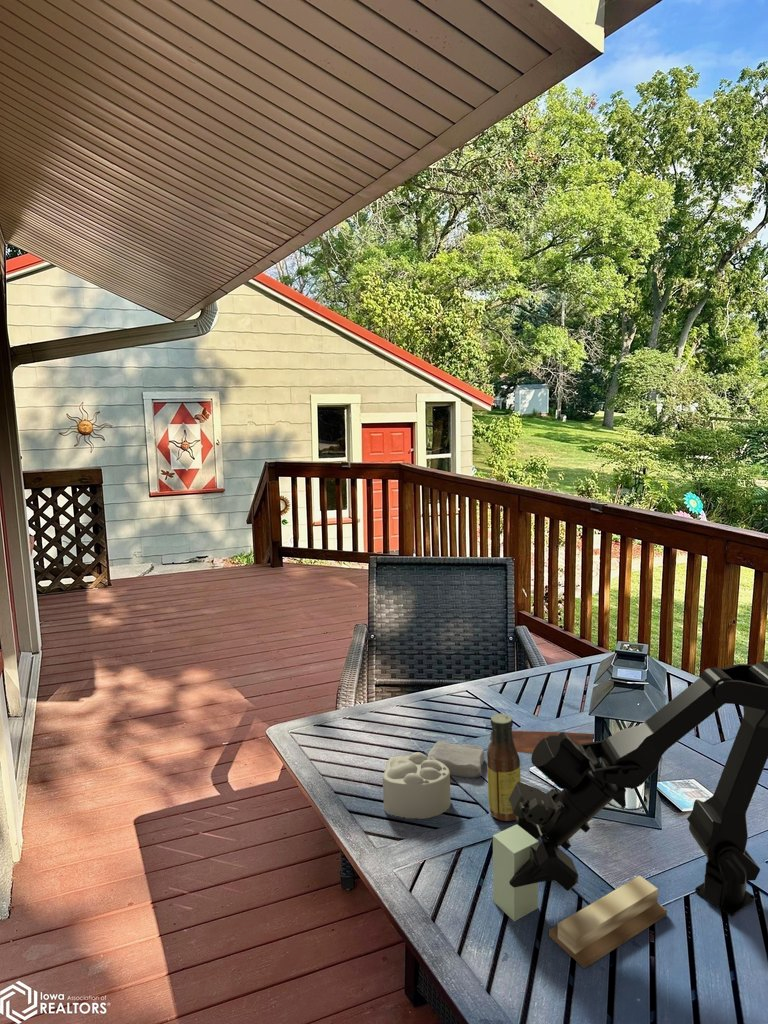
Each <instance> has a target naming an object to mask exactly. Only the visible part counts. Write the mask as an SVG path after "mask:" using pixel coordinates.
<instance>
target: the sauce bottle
mask: <svg viewBox="0 0 768 1024" xmlns="http://www.w3.org/2000/svg"><path fill="white" fill-rule="evenodd" d="M490 725H491V730H492V731H491V732H492V741H491V740H490V743H489V744H488V747H487V751H486V756H487V757H486V758H487V760H486V761H487V764H486V766H487V771H486V772H487V789H488V790H487V791H488V806H489V808H490V809H489V811H490V814H491V816H492V817H494V818H495V819H497V820H499V821H503V822H513V821H516V819H517V816H516V815H515V814H514V813H513V811H512V806H511V803H510V802H509V797H510V795H511V793H512V791H513V789H514V787H515V785H516V783H517V782H522V779H521V761H520V759H521V758H520V756H519V754H518V753H519V752H517V750H516V747H515V744H514V741H513V737H512V731H513V728H512V727H513V725H514V724H513V718H512V716H510V715H509V714H507V713H496V714H493V715H492V716H491V717H490Z"/></svg>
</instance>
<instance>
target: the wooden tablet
mask: <svg viewBox="0 0 768 1024" xmlns="http://www.w3.org/2000/svg"><path fill="white" fill-rule="evenodd" d="M561 732H562V731H543V730H542V731H541V730H540V731H539V730H537V731H536V730H535V731H534V730H530V731H529V730H512V737H513V741H514V744H515V747H516V750H517V753H522V754H532V753H533V751H534V749H535V747H536V746H537V744H538V743H539V742H540V741H541V740H542V739H546V738H547V737H549V736H553V735H555V736H558V735H559V734H560V733H561ZM564 732H565V733H566V734H567V735H568V736H569V737H570V739H571V740H572V741H573V742H574V743H575V744H576V745H577V746H579V745H580V744H584V743H590V742H593V739H594V734H595V733H584V732H570V731H569V732H566V731H564ZM489 739H490V742H491V741H492V731H491V732H490V737H489Z"/></svg>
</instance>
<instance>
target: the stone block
mask: <svg viewBox="0 0 768 1024" xmlns="http://www.w3.org/2000/svg"><path fill="white" fill-rule="evenodd" d="M426 757H429V758H432V759H435V760H437V761H440V762H442V763H443V764H444V765H445V766H447V768H448V769H449V771H450V776H456V777H463V778H468V779H472V778H473V779H474V778H480V777H481V776H482V772H483V771H482V766H483V765H484V762H485V752H484V749H483V748H482V747H481V746H479V745H477V744H476V745H474V744H473V745H472V744H469V743H468V744H467V743H463V744H457V743H450V742H448V741H439V740H438V741H436V742H435V743H434V744H433V747H432V748H431V749H430V750H429V752H428V754H427V755H426Z"/></svg>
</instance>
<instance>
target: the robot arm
mask: <svg viewBox="0 0 768 1024" xmlns="http://www.w3.org/2000/svg"><path fill="white" fill-rule="evenodd" d="M727 704H728V705H729V704H730V705H739V706H742V707H743V717H742V720H741V723H740V725H739V728H738V731H737V733H736V735H735V738H734V741H733V744H732V746H731V748H730V751H729V753H728V756H727V759H726V762H725V764H724V766H723V769H722V772H721V775H720V778H719V780H718V782H717V785H716V788H715V790H714V792H713V795H712V796H711V797H709V798H708V799H706V800H705V801H702V800H700V799H695V801H694V802H693V807H692V810H691V813H690V814H689V815H688V817H687V818H686V820H687V821H688V828H689V829H688V830H689V833H690V834H691V836H692V838H693V839H694V840H695V842H696V843H697V845H698V846H699V848H700V849H701V851H702V852H703V854H704V856H706V858H707V859H706V862H705V870H704V871H705V873H704V880H703V881H704V882H702V883H701V884H700V885H698V886H696V887H695V888H694V890H695V892H696V894H698V895H699V896H701V898H703V899H705V900H706V901H708V902H709V903H710V904H712V905H713V906H715V907H716V908H718V909H719V910H721V911H722V912H724V913H726V914H727V915H728V916H731V917H733V916H735V915H736V914H738V913H739V912H740V911H742V910H744V909H746V907H748V906H749V905H751V904H752V903H753V902H755V900H756V897H755V895H753V894H752V893H750V892H749V891H747V882H748V881H756V879H757V878H758V877H759V873H760V871H761V867H759V865H758V864H757V863H756V862H755V860H754V859H753V858H752V856H751V855H750V854H749V852H748V851H747V850H746V849H747V844H748V837H749V836H748V825H747V811H748V809H749V807H750V805H751V801H752V800H753V797H754V794H755V791H756V789H757V786H758V784H759V782H760V779H761V776H762V774H763V771H764V769H765V767H766V764H767V761H768V661H765V660H764V661H761V662H757V663H756V664H748V663H747V664H746V663H736V664H733V665H729V666H726V667H708V668H706V669H704V670H703V672H702V673H700V676H699V678H697V679H696V680H695V681H694V682H692V683H691V684H689V686H687V687H686V688H685V689H683V691H681V692H680V693H679V694H678V695H676V696H675V697H674V698H673V699H671V700H670V701H669V702H667V703H666V704H665V705H664V706H663V707H661V708H660V709H659V710H657V711H656V712H655V713H653V715H651V716H650V717H649V718H647V719H646V720H645V721H643V722H642V723H640V724H638V725H636V726H630V727H626V728H622V729H621V730H618V731H616V732H615V733H614V734H612V735H610V736H608V737H607V739H605V740H602V741H596V742H590V743H584V744H580V745H579V746H577V745H576V744H575V743H574V742H573V741H572V740H571V739H570V737H569V736H568V735H567V734H566V733H565V732H566V731H560V732H561V733H560V734H559V735H558V736H555V735H553V736H549V737H547V738H546V739H542V740H541V741H540V742H539V743H538V744H537V746H536V747H535V749H534V751H533V753H531V759H530V761H531V764H532V765H533V766H534V767H535V768H536V769H537V770H539V771H540V772H541V773H542V774H543V775H544V776H545V777H547V778H548V780H550V781H551V782H552V783H553V784H554V785H556V786H557V787H558V788H559V789H558V788H557V787H555V788H552V789H550V790H549V791H548V792H545V791H543V790H541V789H539V788H537V787H534V786H532V785H530V784H527V783H524V782H522V781H521V782H517V783H516V785H515V787H514V789H513V791H512V793H511V795H510V797H509V802H510V803H511V806H512V811H513V813H514V814H515V815H516V816H517V819H516V820H515V822H514V824H513V826H514V825H516V824H517V825H519V826H520V827H521V828H522V829H524V830H525V831H526V832H527V833H529V834H530V835H531V836H533V837H534V838H535V839H536V840H538V839H539V838H540V839H541V843H540V844H539V846H538V848H537V851H536V850H535V849H533V848H532V847H531V846H530V858H529V859H528V860H527V862H526V863H525V864H524V865H523V866H522V867H521V868H520V869H519V870H518V871H517V873H516V874H515V875H514V876H513V877H512V879H511V880H510V881H509V883H510V885H511V886H512V887H514V888H515V887H520V886H524V885H529V884H534V883H538V884H539V883H544V882H545V883H546V882H553V881H554V882H556V883H557V884H558V885H560V886H561V887H562V889H564V890H565V891H566V892H569V891H570V890H571V889H573V888H574V887H575V886H576V885H577V884H579V873H578V871H577V868H576V866H575V862H574V861H573V859H572V858H571V857H570V856H569V855H568V854H567V853H565V852H564V851H563V850H562V849H561V848H560V846H561V847H562V848H563V849H564V850H565V851H567V850H568V849H570V848H571V847H572V845H571V842H570V839H571V838H572V837H573V836H575V834H577V832H579V831H580V830H582V831H583V832H584V833H587V832H588V831H589V830H591V827H590V825H589V822H590V821H591V820H592V819H593V818H594V817H595V816H596V815H597V814H599V813H600V812H601V811H602V810H603V809H604V808H606V806H607V805H609V803H610V802H611V801H613V800H614V802H616V803H617V804H618V806H620V807H622V808H625V807H626V806H627V804H626V792H627V789H630V790H633V789H637V788H638V787H640V786H642V785H643V784H644V783H646V781H647V780H648V779H649V777H650V776H651V775H653V773H655V771H657V768H658V767H659V764H660V762H661V760H662V757H663V756H664V754H665V753H666V752H667V751H668V750H669V749H670V748H671V747H672V746H674V745H675V744H676V743H677V742H679V741H681V740H682V739H683V738H684V737H685V736H686V735H688V734H689V733H690V732H691V731H692V730H694V729H695V728H696V727H698V726H700V724H701V723H702V722H704V721H705V720H706V719H708V718H709V717H710V716H712V715H713V714H714V713H715V712H717V711H718V710H719V709H720V708H722V707H723V706H724V705H727ZM599 759H600V760H599ZM600 761H601V762H600ZM560 789H561V790H560Z"/></svg>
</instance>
